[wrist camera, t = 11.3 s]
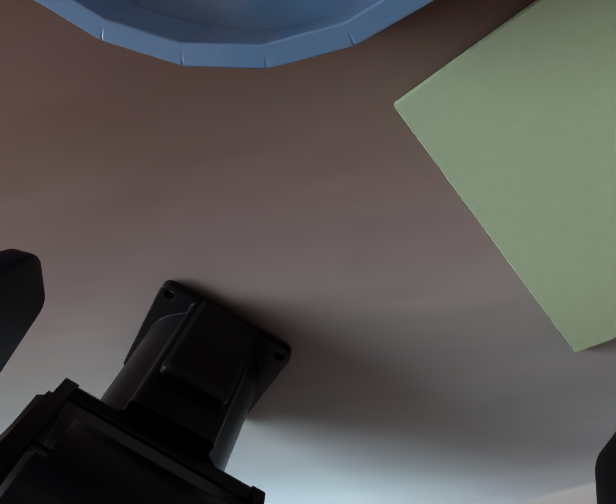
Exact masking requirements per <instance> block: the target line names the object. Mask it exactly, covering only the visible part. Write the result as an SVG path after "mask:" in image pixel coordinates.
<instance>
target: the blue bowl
mask: <svg viewBox="0 0 616 504" xmlns="http://www.w3.org/2000/svg"><path fill="white" fill-rule="evenodd" d="M35 1H37V2H38V3H40V4H42V5H43V6H45V7H47V8H48V9H50V10H51V11H53V12H55V13H56V14H58V15H60V16H61V17H63V18H65V19H66V20H68V21H70V22H71V23H73V24H74V25H76V26H78V27H79V28H81V29H83V30H84V31H86V32H88V33H89V34H91V35H93V36H94V37H96V38H97V39H99V40H103V41H105V42H108V43H111V44H114V45H117V46H121V47H124V48H127V49H130V50H133V51H137V52H140V53H143V54H146V55H149V56H152V57H156V58H159V59H162V60H165V61H168V62H172V63H175V64H178V65H184V66H192V67H224V68H255V69H265V68H267V67H268V68H273V67H277V66H281V65H284V64H288V63H292V62H296V61H300V60H304V59H308V58H312V57H315V56H319V55H323V54H327V53H331V52H335V51H339V50H343V49H346V48H350V47H352V46H354V45H358V44H360V43H361V42H363V41H365V40H367V39H368V38H370V37H372V36H373V35H375V34H377V33H379V32H380V31H382V30H384V29H386V28H387V27H389V26H391V25H392V24H394V23H396V22H398V21H399V20H401V19H403V18H405V17H406V16H408V15H410V14H411V13H413V12H415V11H417V10H418V9H420V8H422V7H424V6H425V5H427V4H429V3H430V2H432V1H434V0H35Z"/></svg>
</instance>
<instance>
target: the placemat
mask: <svg viewBox="0 0 616 504" xmlns="http://www.w3.org/2000/svg"><path fill="white" fill-rule="evenodd" d="M394 107H395V108H396V110H397V111H398V112H399V114H400V115H401V116H402V118H403V119H404V121H405V122H406V123H407V125H408V126H409V127H410V129H411V130H412V131H413V133H414V134H415V136H416V137H417V138H418V140H419V141H420V142H421V144H422V145H423V146H424V148H425V149H426V150H427V152H428V153H429V155H430V156H431V157H432V159H433V160H434V161H435V163H436V164H437V165H438V167H439V168H440V170H441V171H442V172H443V174H444V175H445V176H446V178H447V179H448V180H449V182H450V183H451V185H452V186H453V187H454V189H455V190H456V191H457V193H458V194H459V195H460V197H461V198H462V199H463V201H464V202H465V204H466V205H467V206H468V208H469V209H470V210H471V212H472V213H473V214H474V216H475V217H476V219H477V220H478V221H479V223H480V224H481V225H482V227H483V228H484V229H485V231H486V232H487V233H488V235H489V236H490V238H491V239H492V240H493V242H494V243H495V244H496V246H497V247H498V248H499V250H500V251H501V253H502V254H503V255H504V257H505V258H506V259H507V261H508V262H509V263H510V265H511V266H512V267H513V269H514V270H515V272H516V273H517V274H518V276H519V277H520V278H521V280H522V281H523V282H524V284H525V285H526V287H527V288H528V289H529V291H530V292H531V293H532V295H533V296H534V297H535V299H536V300H537V301H538V303H539V304H540V306H541V307H542V308H543V310H544V311H545V312H546V314H547V315H548V316H549V318H550V319H551V321H552V322H553V323H554V325H555V326H556V327H557V329H558V330H559V331H560V333H561V334H562V335H563V337H564V338H565V340H566V341H567V342H568V344H569V345H570V346H571V348H572V349H573V350H574V352H575V353H577V352H579V351H582V350H585V349H587V348H590V347H593V346H595V345H598V344H601V343H603V342H606V341H609V340H611V339H614V338H616V0H536V1H534V2H533V3H531V4H530V5H529V6H527V7H526V8H525V9H523V10H522V11H520V12H519V13H518V14H516V15H515V16H513V17H512V18H511V19H509V20H508V21H506V22H505V23H504V24H502V25H501V26H500V27H498V28H497V29H495V30H494V31H493V32H491V33H490V34H488V35H487V36H486V37H484V38H483V39H482V40H480V41H479V42H477V43H476V44H475V45H473V46H472V47H470V48H469V49H468V50H466V51H465V52H463V53H462V54H461V55H459V56H458V57H457V58H455V59H454V60H452V61H451V62H450V63H448V64H447V65H445V66H444V67H443V68H441V69H440V70H438V71H437V72H436V73H434V74H433V75H432V76H430V77H429V78H427V79H426V80H425V81H423V82H422V83H420V84H419V85H418V86H416V87H415V88H413V89H412V90H411V91H409V92H408V93H407V94H405V95H404V96H402V97H401V98H400V99H398V100H397V101H395V103H394Z"/></svg>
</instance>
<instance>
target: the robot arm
mask: <svg viewBox="0 0 616 504" xmlns="http://www.w3.org/2000/svg"><path fill="white" fill-rule="evenodd" d="M169 290H170V291H172V292H174V294H172V293H171V292H170V291H169ZM44 300H45V292H44V284H43V277H42V269H41V262H40V260H39V258H38V257H37V256H36V255H34V254H31V253H28V252H24V251H20V250H17V249H7V250H4V251H0V372H1V371H2V369H3V367H4V366H5V364H6V363H7V361H8V360H9V358H10V357H11V355H12V354H13V352H14V351H15V349H16V348H17V346H18V345H19V343H20V342H21V340H22V339H23V337H24V336H25V334H26V333H27V331H28V330H29V328H30V327H31V325H32V323H33V322H34V320H35V319H36V317H37V316H38V314H39V313H40V311H41V309H42V307H43V304H44ZM277 352H280V353H282V355H281V354H278V353H277ZM291 353H292V352H291V348H290V347H289V346H288V345H287V344H285V343H284V342H282V341H280V340H278V339H277V338H275V337H273V336H271V335H270V334H268V333H266V332H264V331H263V330H261V329H259V328H257V327H256V326H254V325H252V324H250V323H249V322H247V321H245V320H243V319H242V318H240V317H238V316H236V315H234V314H233V313H231V312H229V311H227V310H226V309H224V308H222V307H220V306H219V305H217V304H215V303H213V302H212V301H210V300H208V299H206V298H205V297H203V296H201V295H199V294H198V293H196V292H194V291H192V290H191V289H189V288H187V287H185V286H184V285H182V284H180V283H178V282H176V281H173V280H168V281H166V282H165V283H164V284H163V285H162V287H161V288H160V290H159V292H158V294H157V296H156V298H155V300H154V302H153V304H152V306H151V308H150V310H149V312H148V314H147V316H146V318H145V320H144V322H143V324H142V326H141V328H140V330H139V332H138V335H137V337H136V339H135V341H134V343H133V345H132V347H131V349H130V351H129V353H128V355H127V357H126V359H125V361H124V367H123V368H122V370H121V371H120V373H119V374H118V375H117V377H116V378H115V380H114V381H113V382H112V384H111V385H110V387H109V388H108V389H107V391H106V392H105V394H104V395H103V397H102V398H101V399H100V400H99V399H97V398H96V397H94V396H92V395H90V394H89V393H87V392H85V391H83V390H82V389H80V388H78V387H79V385H78V384H76V383H75V382H73V381H71V380H70V379H68V378H66V379H65V380H64V381H63V382H62V383H61V384H60V385H59V386H58V387H57V388H56V389H55V391H54V392H53V393H52V392H50V391H48V392H47V393H46V394H45V395H36V396H35V397H34V398H33V400H32V401H31V402H30V403H29V404H28V405H27V407H26V408H25V409H24V410H23V411H22V413H21V414H20V415H19V416H18V417H17V418H16V419H15V421H14V422H13V423H12V424H11V425H10V426H9V427H8V428H7V429H6V430H5V431H4V432H3V433H2V434H1V435H0V504H264V500H265V492H263V491H261V490H260V489H258V488H256V487H255V486H252V487H250V486H248V485H246V484H244V483H243V482H241V481H239V480H238V479H236V478H234V477H232V476H231V475H229V474H227V473H225V472H224V470H225V468H226V465H227V463H228V460H229V458H230V455H231V453H232V450H233V448H234V445H235V443H236V440H237V438H238V435H239V433H240V430H241V428H242V425H243V423H244V420H245V418H246V415H247V414H248V413H249V411H250V410H251V409H252V407H253V406H254V405H255V404H256V402H257V401H258V400H259V399H260V397H261V396H262V395H263V393H264V392H265V391H266V390H267V388H268V387H269V386H270V385H271V383H272V382H273V381H274V379H275V378H276V377H277V376H278V374H279V373H280V372H281V370H282V369H283V368H284V367H285V365H286V364H287V363H288V361H289V359H290V356H291ZM595 478H596V495H597V504H616V432H615V434H614V435H613V436H612V437H611V439H610V440H609V441H608V443H607V444H606V445H605V447H604V448H603V449H602V451H601V452H600V454H599V455H598V458H597V461H596V466H595Z"/></svg>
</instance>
